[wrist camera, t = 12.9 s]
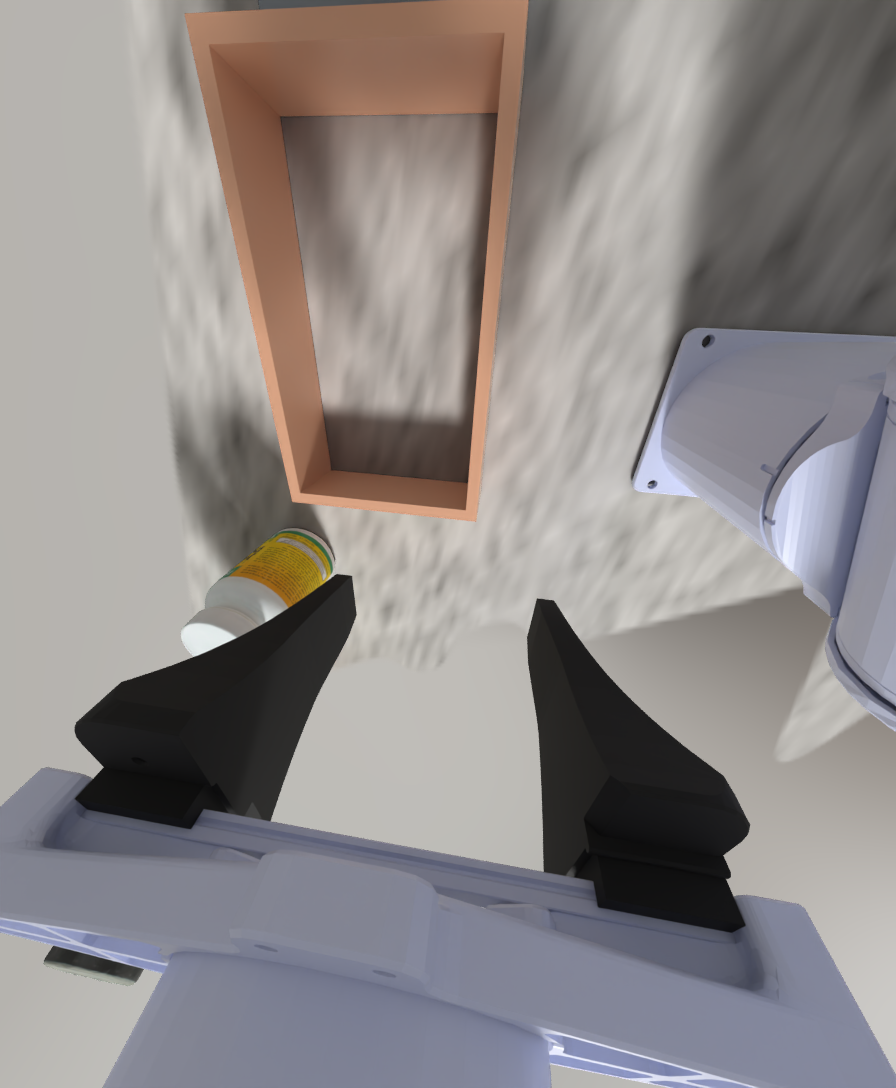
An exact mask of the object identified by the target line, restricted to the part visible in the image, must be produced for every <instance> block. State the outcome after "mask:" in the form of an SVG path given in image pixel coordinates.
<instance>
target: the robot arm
mask: <svg viewBox="0 0 896 1088" xmlns="http://www.w3.org/2000/svg"><path fill="white" fill-rule="evenodd" d="M707 335H709V336H710V338H711V339H710V343H709V344H708V345H707V346H706V347H703V346H702V340H703V339H704V337H706V336H707ZM652 480H655V483H654V484H653V485H652V486H647V484H648V483H649V482H650V481H652ZM632 486H633V488H634V489H635V490H637V491H640V492H650V493H660V494H671V495H682V496H692V497H699V498H701V499H702V500H703V501H704V502H706V503H707V504H708V505H709V506H711V507H712V508H713V509H714V510H716V511H717V512H718V513H719V514H721V515H722V516H723V517H724V518H726V519H727V520H728V521H729V522H731V523H732V524H733V525H734V526H736V527H737V528H738V529H739V530H741V531H742V532H743V533H744V534H746V535H747V536H748V537H749V538H751V539H752V540H753V541H754V542H756V543H757V544H758V545H759V546H761V547H762V548H763V549H764V550H766V551H767V552H768V553H769V554H771V555H772V556H773V557H774V558H776V559H777V560H778V561H780V562H781V563H782V564H783V565H784V566H785V567H786V568H788V569H789V570H790V571H791V572H793V573H794V574H795V575H796V576H798V577H799V578H800V579H801V580H802V583H803V586H804V595H806V596H807V597H808V598H809V599H811V600H812V601H813V602H814V603H815V604H816V605H817V606H819V607H820V608H821V609H822V610H824V611H825V612H826V613H827V614H828V615H829V616H831V617H833V618H834V619H833V620H832V623H831V625H830V628H829V631H828V634H827V637H826V645H825V651H826V655H827V659H828V662H829V665H830V667H831V669H832V671H833V672H834V674H835V676H836V678H837V679H838V681H839V682H840V683H841V684H842V686H843V687H844V688H845V689H846V690H847V692H848V693H849V694H850V695H851V696H852V697H853V698H854V699H855V700H856V701H857V702H858V703H860V704H861V705H862V706H863V707H864V708H865V709H866V710H867V711H868V712H870V713H871V714H872V715H874V716H875V717H876V718H878V719H879V720H880V721H882V722H883V723H884V724H885V725H887V726H888V727H890V728H891V729H893V730H894V731H896V337H893V336H871V335H849V334H827V333H805V332H783V331H761V330H739V329H717V328H695V329H692V330H690V331H688V332H687V333H686V334H685V336H684V337H683V339H682V342H681V344H680V347H679V350H678V353H677V356H676V359H675V361H674V364H673V367H672V370H671V373H670V375H669V378H668V381H667V384H666V387H665V390H664V392H663V395H662V398H661V401H660V404H659V407H658V409H657V412H656V415H655V418H654V421H653V423H652V426H651V429H650V432H649V435H648V438H647V440H646V443H645V446H644V449H643V452H642V454H641V457H640V460H639V463H638V466H637V469H636V471H635V474H634V477H633V480H632ZM355 618H356V606H355V598H354V590H353V581H352V576H348V575H340V574H336V575H335V576H333V577H332V578H331V579H329V580H328V581H326V582H325V583H324V584H322V585H321V586H319V587H318V588H317V589H315V590H314V591H312V592H311V593H310V594H308V595H307V596H305V597H304V598H302V599H301V600H300V601H298V602H297V603H295V604H294V605H292V606H291V607H289V608H288V609H286V610H284V611H283V612H281V613H280V614H278V615H277V616H275V617H273V618H272V619H270V620H269V621H267V622H265V623H263V624H262V625H260V626H258V627H256V628H255V629H253V630H251V631H249V632H247V633H245V634H243V635H241V636H239V637H237V638H235V639H233V640H231V641H229V642H227V643H225V644H222V645H220V646H218V647H216V648H214V649H212V650H209V651H207V652H205V653H202V654H200V655H197V656H195V657H193V658H190V659H187V660H185V661H182V662H180V663H177V664H174V665H172V666H169V667H166V668H163V669H160V670H157V671H154V672H151V673H148V674H145V675H142V676H139V677H136V678H133V679H130V680H127V681H123V682H121V683H120V684H119V685H118V686H116V687H115V688H114V689H113V690H112V691H111V692H110V693H109V694H107V695H106V696H105V697H104V698H103V699H102V700H101V701H100V702H99V703H97V704H96V705H95V706H94V707H93V708H92V709H91V710H90V711H89V712H87V713H86V714H85V715H84V716H83V717H82V718H81V719H80V720H79V721H77V722H76V725H75V734H76V737H77V738H78V740H79V741H80V742H81V744H82V745H83V746H84V747H85V748H86V749H87V750H88V751H89V752H90V753H91V754H92V755H93V756H94V757H95V758H96V759H97V760H98V761H99V762H100V764H101V765H102V766H103V767H104V768H103V769H102V770H101V771H100V772H99V773H98V774H97V775H96V776H95V777H94V779H92V778H91V777H89V776H86V775H84V774H80V773H76V772H71V771H65V770H59V769H54V768H48V767H46V768H42V769H41V770H40V771H38V772H37V773H36V774H35V775H34V776H33V777H32V778H31V779H30V780H29V781H28V782H26V783H25V784H24V785H23V786H22V787H21V788H20V789H19V790H18V791H17V792H16V793H15V794H14V795H12V796H11V797H10V798H9V799H8V800H7V801H6V802H5V803H4V804H3V805H2V806H1V807H0V933H4V934H8V935H13V936H17V937H21V938H25V939H30V940H34V941H38V942H42V943H46V944H50V945H54V946H58V947H62V948H66V949H69V950H73V951H77V952H81V953H85V954H89V955H93V956H97V957H100V958H104V959H108V960H112V961H116V962H120V963H123V964H127V965H131V966H135V967H139V968H143V969H147V970H150V971H154V972H158V973H162V974H163V975H162V976H161V978H160V980H159V982H158V984H157V986H156V988H155V990H154V991H153V993H152V995H151V997H150V999H149V1001H148V1003H147V1005H146V1007H145V1008H144V1010H143V1012H142V1014H141V1016H140V1018H139V1020H138V1022H137V1024H136V1025H135V1027H134V1029H133V1031H132V1033H131V1035H130V1037H129V1039H128V1041H127V1042H126V1044H125V1046H124V1048H123V1050H122V1052H121V1054H120V1056H119V1057H118V1059H117V1062H116V1063H115V1065H114V1067H113V1069H112V1071H111V1072H110V1075H109V1076H108V1078H107V1080H106V1082H105V1084H104V1086H103V1088H552V1086H551V1071H550V1064H554V1065H559V1066H564V1067H569V1068H574V1069H579V1070H584V1071H589V1072H594V1073H599V1074H604V1075H609V1076H614V1077H619V1078H624V1079H629V1080H634V1081H639V1082H644V1083H649V1084H654V1085H659V1086H664V1087H669V1088H896V1074H895V1072H894V1070H893V1069H892V1067H891V1065H890V1063H889V1061H888V1059H887V1058H886V1056H885V1054H884V1052H883V1051H882V1049H881V1047H880V1045H879V1043H878V1041H877V1039H876V1038H875V1036H874V1034H873V1032H872V1030H871V1029H870V1027H869V1025H868V1023H867V1021H866V1019H865V1017H864V1016H863V1014H862V1012H861V1010H860V1008H859V1007H858V1005H857V1003H856V1001H855V999H854V997H853V996H852V994H851V992H850V990H849V988H848V986H847V985H846V983H845V981H844V979H843V977H842V976H841V974H840V972H839V970H838V968H837V967H836V965H835V963H834V961H833V959H832V957H831V956H830V954H829V952H828V950H827V948H826V946H825V945H824V943H823V941H822V939H821V937H820V936H819V934H818V932H817V930H816V928H815V926H814V924H813V923H812V921H811V919H810V917H809V916H808V914H807V912H806V910H805V908H803V907H802V906H801V905H799V904H796V903H790V902H785V901H779V900H773V899H768V898H763V897H757V896H750V895H738V896H734V897H733V894H732V892H731V890H730V887H729V885H728V883H727V881H726V879H729V878H730V877H731V872H730V870H729V868H728V865H727V863H726V861H725V859H724V856H723V855H724V854H725V853H726V852H728V851H730V850H731V849H732V848H734V847H735V846H736V845H738V844H739V843H740V842H742V841H743V839H744V838H745V837H746V836H747V835H748V832H749V828H750V824H749V822H748V820H747V818H746V816H745V814H744V812H743V810H742V808H741V806H740V804H739V802H738V800H737V798H736V796H735V794H734V793H733V791H732V789H731V788H730V786H729V784H728V783H727V781H726V779H725V778H724V776H723V775H722V774H720V773H719V772H718V771H716V770H715V769H713V768H712V767H711V766H710V765H708V764H707V763H706V762H704V761H703V760H702V759H700V758H699V757H697V756H696V755H695V754H694V753H692V752H691V751H690V750H688V749H687V748H686V747H684V746H683V745H682V744H681V743H679V742H678V741H677V740H676V739H675V738H673V737H672V736H671V735H670V734H669V733H667V732H666V731H665V730H664V729H663V728H661V727H660V726H659V725H658V724H657V723H656V722H655V721H653V720H652V719H651V718H650V717H649V716H648V715H647V714H645V712H643V710H641V709H640V708H639V707H638V706H637V705H636V704H635V703H634V702H633V701H632V700H631V699H630V698H629V697H628V696H627V695H626V694H625V693H624V692H623V691H622V690H621V689H620V688H619V687H618V686H617V685H616V684H615V683H614V682H613V680H612V679H611V678H610V677H609V676H608V675H607V674H606V673H605V672H604V670H603V669H602V668H601V667H600V666H599V664H598V663H597V662H596V661H595V659H594V658H593V657H592V656H591V654H590V653H589V652H588V650H587V649H586V648H585V646H584V645H583V643H582V642H581V641H580V639H579V638H578V636H577V635H576V634H575V632H574V631H573V629H572V628H571V626H570V625H569V623H568V622H567V620H566V619H565V617H564V616H563V614H562V612H561V611H560V609H559V608H558V606H557V604H556V603H555V602H554V601H553V600H545V599H537V601H536V605H535V609H534V613H533V617H532V621H531V625H530V629H529V633H528V636H527V642H528V643H527V644H528V665H529V671H530V678H531V684H532V691H533V697H534V703H535V710H536V716H537V723H538V732H539V747H540V763H541V764H540V765H541V785H542V814H543V855H544V856H543V858H544V872H541V871H535V870H530V869H525V868H519V867H514V866H508V865H503V864H498V863H492V862H487V861H481V860H476V859H471V858H465V857H459V856H454V855H449V854H444V853H438V852H433V851H428V850H421V849H417V848H411V847H406V846H401V845H395V844H389V843H384V842H379V841H374V840H368V839H362V838H358V837H352V836H347V835H341V834H336V833H331V832H325V831H319V830H314V829H309V828H303V827H298V826H293V825H287V824H282V823H277V822H271V817H272V815H273V812H274V809H275V806H276V803H277V800H278V797H279V794H280V791H281V788H282V785H283V782H284V779H285V776H286V774H287V771H288V768H289V766H290V763H291V760H292V757H293V755H294V752H295V749H296V746H297V744H298V741H299V739H300V736H301V734H302V731H303V728H304V726H305V724H306V721H307V719H308V716H309V714H310V712H311V709H312V707H313V704H314V702H315V700H316V697H317V695H318V693H319V691H320V689H321V687H322V685H323V683H324V681H325V680H326V678H327V676H328V674H329V672H330V670H331V669H332V667H333V665H334V663H335V661H336V659H337V657H338V656H339V654H340V652H341V650H342V648H343V646H344V644H345V642H346V640H347V638H348V636H349V634H350V631H351V629H352V626H353V623H354V620H355ZM482 907H484V908H482Z"/></svg>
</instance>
